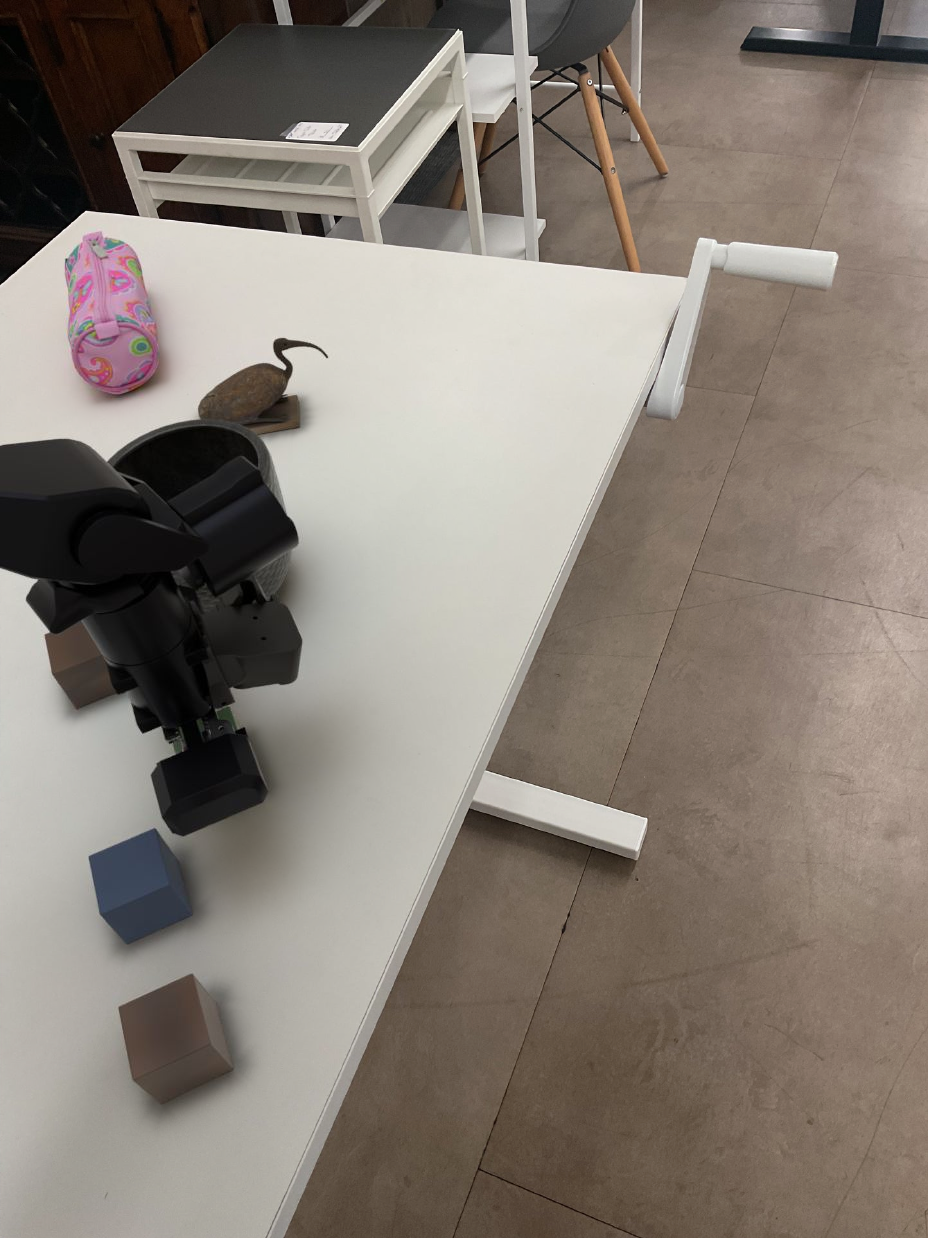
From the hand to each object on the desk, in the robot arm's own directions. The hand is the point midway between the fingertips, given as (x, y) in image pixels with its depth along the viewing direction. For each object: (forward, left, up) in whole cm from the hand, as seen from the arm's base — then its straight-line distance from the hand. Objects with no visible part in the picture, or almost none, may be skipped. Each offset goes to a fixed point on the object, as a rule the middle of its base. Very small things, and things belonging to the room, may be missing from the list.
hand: (221, 768), depth 72 cm
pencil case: (+4, +61, -1) cm, 62 cm away
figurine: (+15, +39, -1) cm, 42 cm away
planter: (+5, +18, -1) cm, 19 cm away
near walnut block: (-7, -18, -1) cm, 19 cm away
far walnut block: (-7, +14, -1) cm, 16 cm away
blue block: (-7, -7, -1) cm, 10 cm away
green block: (0, 0, -1) cm, 1 cm away
